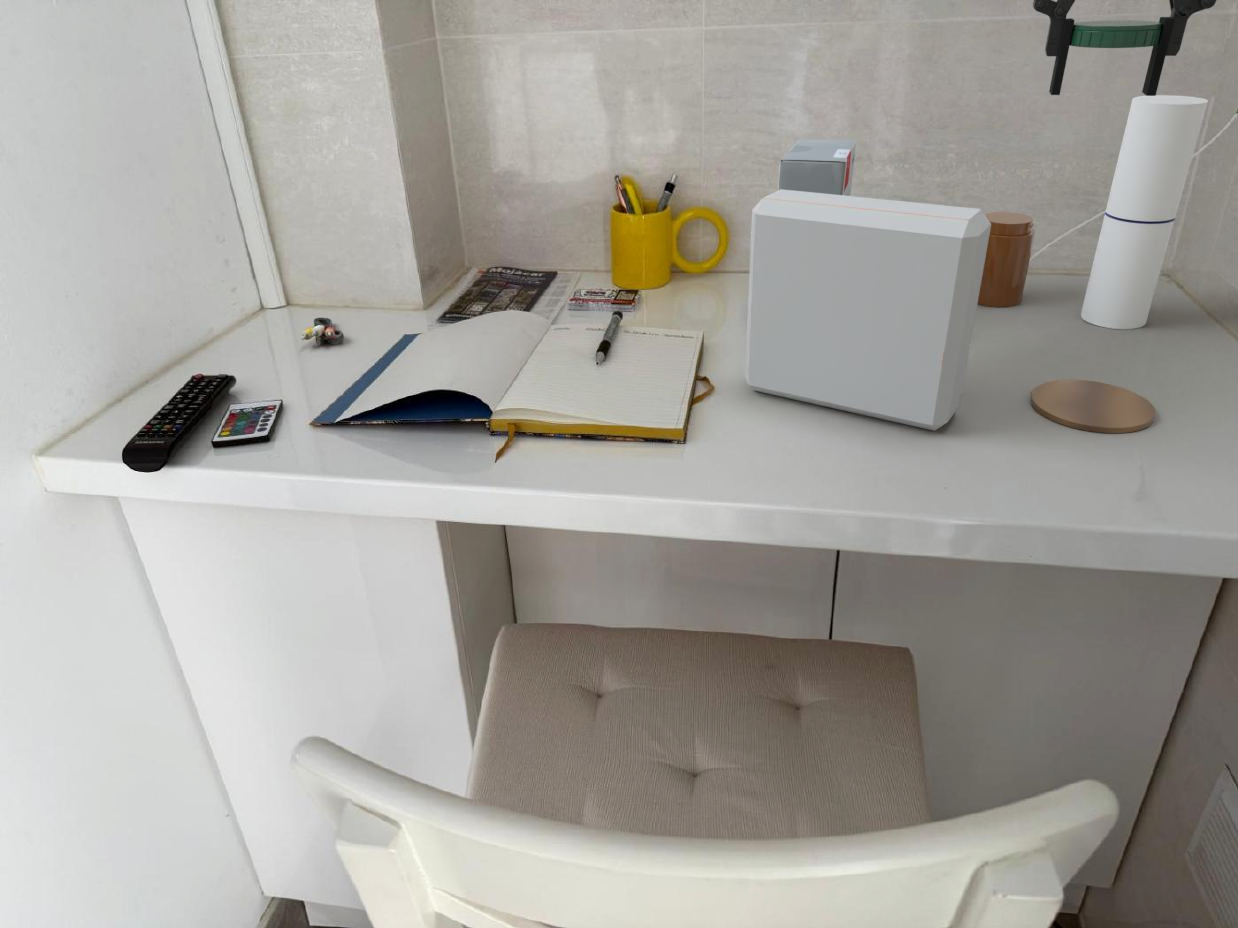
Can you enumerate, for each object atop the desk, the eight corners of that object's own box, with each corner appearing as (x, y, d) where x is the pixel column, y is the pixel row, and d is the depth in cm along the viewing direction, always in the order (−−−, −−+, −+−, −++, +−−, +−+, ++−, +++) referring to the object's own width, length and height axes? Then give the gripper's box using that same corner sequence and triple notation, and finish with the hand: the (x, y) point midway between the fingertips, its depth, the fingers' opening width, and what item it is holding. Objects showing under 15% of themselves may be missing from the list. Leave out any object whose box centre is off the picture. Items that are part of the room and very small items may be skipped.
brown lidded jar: (1019, 291, 117) (1035, 212, 112) (1023, 309, 111) (1039, 226, 106) (964, 288, 119) (977, 210, 114) (964, 305, 113) (978, 223, 108)
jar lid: (1070, 48, 81) (1074, 27, 80) (1063, 41, 87) (1067, 21, 86) (1164, 48, 78) (1170, 25, 78) (1150, 40, 85) (1155, 20, 84)
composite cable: (314, 324, 115) (310, 306, 114) (351, 321, 116) (347, 303, 115) (303, 352, 107) (298, 333, 106) (343, 348, 107) (339, 329, 106)
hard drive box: (830, 330, 107) (845, 161, 97) (767, 325, 109) (776, 159, 99) (842, 291, 120) (857, 137, 110) (786, 287, 122) (795, 136, 112)
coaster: (1143, 390, 90) (1144, 385, 89) (1164, 439, 80) (1166, 433, 80) (1026, 380, 93) (1027, 374, 92) (1034, 425, 84) (1035, 420, 83)
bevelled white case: (964, 406, 88) (1000, 204, 78) (941, 439, 82) (977, 225, 72) (771, 366, 98) (781, 183, 88) (738, 393, 92) (746, 200, 82)
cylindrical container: (1078, 324, 106) (1131, 103, 94) (1082, 305, 112) (1133, 94, 99) (1145, 332, 103) (1209, 105, 91) (1146, 313, 108) (1207, 96, 96)
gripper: (1036, -194, 74) (988, 97, 85) (1324, -218, 67) (1231, 100, 79) (1031, -183, 80) (987, 88, 91) (1295, -204, 74) (1213, 89, 85)
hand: (1100, 93), depth 85 cm, fingers closed on jar lid, 7 cm apart
